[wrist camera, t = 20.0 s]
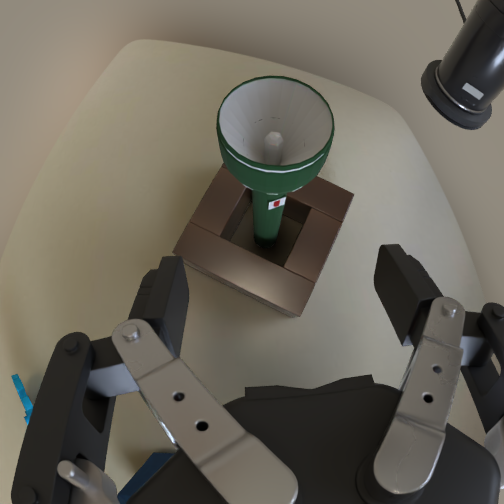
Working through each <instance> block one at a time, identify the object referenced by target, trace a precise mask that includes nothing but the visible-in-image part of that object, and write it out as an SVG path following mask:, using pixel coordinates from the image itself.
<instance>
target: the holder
mask: <svg viewBox="0 0 504 504" xmlns="http://www.w3.org/2000/svg"><path fill="white" fill-rule="evenodd" d="M353 197H354V194H353V193H351V192H349V191H347V190H345V189H343V188H341V187H339V186H337V185H335V184H332V183H330V182H328V181H326V180H324V179H322V178H320V177H318V176H316V177H315V178H313V179H312V180H311V181H310V182H309V183H308V184H306V185H304V186H303V187H301V188H299V189H297V190H295V191H293V192H287V196H286V200H285V204H284V209H283V213H282V214H284V215H286V216H288V217H290V218H292V219H294V220H296V221H299V222H301V223H303V224H304V225H303V227H302V229H301V231H300V233H299V235H298V237H297V239H296V241H295V243H294V245H293V248H292V250H291V252H290V254H289V256H288V258H287V260H286V262H285V264H284V266H283V267H281V266H279V265H277V264H275V263H273V262H271V261H269V260H266V259H264V258H262V257H260V256H258V255H256V254H254V253H252V252H250V251H248V250H246V249H244V248H242V247H240V246H238V245H236V244H234V243H232V242H230V239H231V238H232V236H233V234H234V232H235V230H236V228H237V226H238V224H239V223H240V221H241V219H242V217H243V215H244V213H245V211H246V210H247V208H248V206H249V204H250V202H251V200H253V198H252V190H251V189H250V188H248V187H246V186H244V185H243V184H242V183H241V182H239V181H238V180H237V179H236V178H235V177H234V176H233V175H232V174H231V173H230V172H229V170H228V168H227V167H226V165H225V163H223V164H222V167H221V168H220V169H219V171H218V173H217V174H216V176H215V178H214V179H213V181H212V183H211V185H210V186H209V188H208V190H207V191H206V193H205V195H204V197H203V198H202V200H201V202H200V203H199V205H198V207H197V209H196V210H195V212H194V214H193V216H192V217H191V219H190V221H189V222H188V224H187V226H186V228H185V230H184V231H183V233H182V235H181V237H180V239H179V240H178V242H177V244H176V246H175V248H174V250H173V252H172V253H173V254H174V255H176V256H182V258H183V262H184V263H185V264H187V265H189V266H191V267H193V268H195V269H197V270H199V271H201V272H202V273H204V274H206V275H208V276H210V277H212V278H214V279H216V280H218V281H220V282H222V283H224V284H226V285H228V286H230V287H232V288H234V289H236V290H238V291H240V292H242V293H244V294H246V295H248V296H250V297H252V298H254V299H256V300H258V301H260V302H262V303H264V304H266V305H268V306H270V307H272V308H274V309H276V310H278V311H280V312H282V313H284V314H286V315H288V316H291V317H293V318H294V317H300V316H301V314H302V312H303V310H304V308H305V305H306V303H307V301H308V299H309V297H310V295H311V293H312V291H313V289H314V286H315V283H316V282H317V280H318V278H319V275H320V273H321V271H322V269H323V267H324V264H325V262H326V260H327V258H328V255H329V253H330V251H331V249H332V246H333V244H334V242H335V240H336V237H337V235H338V233H339V230H340V228H341V226H342V223H343V221H344V219H345V216H346V214H347V211H348V209H349V207H350V204H351V202H352V199H353Z"/></svg>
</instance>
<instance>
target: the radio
mask: <svg viewBox="0 0 504 504" xmlns="http://www.w3.org/2000/svg"><path fill="white" fill-rule="evenodd" d="M174 454H175V453H153V454H152V455H151V456H150V457H149V459H148V460H147V461H146V462H145V463H144V464H143V466H142V467H141V468H140V469H139V470H138V471H137V473H136V474H135V475H134V476H133V477H132V478H131V480H130V481H129V482H128V483H127V484H126V485H125V486H124V488H123V489H122V490H121V491H120V492H119V493H118V495H117V498H118V501H119V503H120V504H126V502H127V501H128V499H129V498H130V497H131V496H132V495H133V494H134V493H135V492H136V491H137V490H138V489H139V488H140V487H141V486H142V485H143V484H144V483H145V482H147V481H148V480H149V479H150V478H151V477H152V476H153V475H154V474H155V473H156V472H157V471H158V470H159V469H160V468H161V467H162V466H163V465H164V464H165V463H166V462H167V461H168V460H169V459H170V458H171V457H172V456H173V455H174Z"/></svg>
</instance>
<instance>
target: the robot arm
mask: <svg viewBox="0 0 504 504" xmlns="http://www.w3.org/2000/svg"><path fill="white" fill-rule="evenodd" d="M455 1H456V3H457V6H458V8H459V11H460V14H461V16H462V19H463V23H464V25H463V27H462V28H461V30H460V32H459V33H458V35H457V37H456V38H455V40H454V42H453V44H452V45H451V47H450V48H449V50H448V52H447V53H446V55H445V56H444V58H443V60H442V61H441V63H440V64H439V65H438V66H437V68H436V70H435V72H434V78H435V81H436V84H437V86H438V88H439V89H440V91H441V92H442V93H443V95H444V96H445V97H446V98H447V99H448V100H449V101H450V102H451V103H452V104H453V105H455V106H456V107H458V108H459V109H461V110H462V111H464V112H466V113H469V114H473V115H479V114H482V113H483V112H484V111H485V110H486V109H487V107H488V106H489V104H490V103H491V102H492V101H493V100H494V99H495V98H496V97H497V96H498V95H499V94H500V92H501V91H502V90H503V89H504V0H478V1H477V2H476V4H475V6H474V8H473V10H472V11H471V13H470V15H469V16H468V18H467V20H466V18H465V15H464V12H463V9H462V7H461V4H460V2H459V0H455ZM374 286H375V290H376V292H377V294H378V296H379V298H380V300H381V302H382V304H383V306H384V308H385V310H386V312H387V314H388V317H389V319H390V321H391V323H392V325H393V327H394V329H395V331H396V334H397V336H398V338H399V340H400V342H401V345H402V346H407V345H413V346H414V350H413V352H412V355H411V357H410V360H409V363H408V365H407V368H406V371H405V373H404V376H403V378H402V381H401V383H400V386H399V388H398V389H396V388H394V387H391V386H388V385H384V384H378V383H374V381H373V377H372V374H371V375H364V376H358V377H351V378H344V379H340V380H337V381H335V382H332V383H329V384H326V385H324V386H321V387H318V388H315V389H302V388H294V387H286V386H278V385H276V386H260V387H245V396H244V397H241V398H238V399H235V400H233V401H231V402H229V403H227V404H225V405H223V406H222V405H221V404H220V403H219V402H218V401H217V399H216V398H215V397H214V396H213V395H212V394H211V393H210V392H209V390H208V389H207V388H206V387H205V386H204V385H203V384H202V382H201V381H200V380H199V379H198V378H197V377H196V375H195V374H194V373H193V372H192V371H191V369H190V368H189V367H188V366H187V365H186V364H185V362H184V361H183V360H182V359H181V358H180V350H181V344H182V338H183V332H184V326H185V320H186V315H187V309H188V303H189V288H188V283H187V278H186V273H185V268H184V263H183V258H182V256H166V257H162V260H161V262H160V265H159V268H158V269H154V270H150V271H149V272H148V273H147V274H146V275H145V276H144V277H143V279H142V282H141V285H140V288H139V290H138V292H137V296H136V298H135V301H134V303H133V306H132V309H131V312H130V314H129V317H128V320H126V321H124V322H122V323H120V324H119V325H118V326H117V327H116V328H115V329H114V331H113V333H112V336H110V337H107V338H103V339H99V340H95V341H90V339H89V337H88V336H87V335H86V334H84V333H81V332H74V333H70V334H67V335H66V336H64V337H63V338H61V339H60V340H59V342H58V343H57V345H56V347H55V349H54V352H53V354H52V357H51V359H50V362H49V364H48V367H47V370H46V372H45V375H44V378H43V381H42V383H41V386H40V389H39V392H38V395H37V398H36V401H35V404H34V407H33V410H32V413H31V416H30V419H29V423H28V426H27V429H26V433H25V436H24V440H23V444H22V447H21V451H20V455H19V459H18V463H17V467H16V472H15V476H14V481H13V486H12V491H11V500H12V504H120V503H119V501H118V498H117V489H116V485H115V483H114V481H113V480H112V479H111V478H110V477H109V476H108V475H107V474H105V473H104V469H105V462H106V455H107V448H108V441H109V435H110V429H111V423H112V417H113V412H114V406H115V401H116V396H117V395H121V394H125V393H130V392H134V391H138V392H139V394H140V395H141V397H142V398H143V400H144V401H145V403H146V405H147V406H148V408H149V409H150V411H151V412H152V414H153V415H154V417H155V418H156V420H157V421H158V423H159V424H160V426H161V427H162V429H163V430H164V432H165V433H166V435H167V436H168V438H169V439H170V441H171V442H172V443H173V445H174V446H175V448H176V449H177V450H178V451H177V452H176V453H175V454H174V455H173V456H172V457H171V458H170V459H169V460H168V461H167V462H166V463H165V464H164V465H163V466H162V467H161V468H160V469H159V470H158V471H157V472H156V473H155V474H154V475H153V476H152V477H151V478H150V479H149V480H148V481H147V482H145V483H144V484H143V485H142V486H141V487H140V488H139V489H138V490H137V491H136V492H135V493H134V494H133V495H132V496H131V497H130V498H129V499H128V501H127V502H126V504H498V499H499V492H500V489H502V488H504V307H503V306H501V305H500V304H497V303H487V304H485V305H484V306H483V308H482V311H481V313H477V312H468V311H465V310H464V307H463V306H462V305H461V304H460V303H459V302H458V301H456V300H455V299H452V298H449V297H444V296H443V295H442V293H441V292H440V290H439V289H438V287H437V286H436V284H435V283H434V282H433V280H432V279H431V277H429V275H428V273H427V272H426V271H425V269H424V268H423V266H422V265H421V263H420V262H419V261H418V260H416V259H415V258H413V257H412V256H411V255H407V254H406V253H405V252H404V250H403V249H402V247H401V246H400V245H399V244H388V245H381V246H380V248H379V253H378V258H377V263H376V269H375V274H374ZM493 353H494V354H495V355H496V357H497V359H498V361H499V363H500V366H501V374H500V376H499V374H498V372H497V370H496V368H495V366H494V364H493V362H492V360H491V357H492V355H493ZM460 370H461V372H462V374H463V376H464V379H465V381H466V383H467V386H468V388H469V391H470V393H471V396H472V398H473V400H474V403H475V406H476V408H477V411H478V413H479V416H480V419H481V421H482V424H483V427H484V430H485V432H486V437H485V441H484V447H485V448H484V447H483V446H481V445H480V444H478V443H477V442H475V441H474V440H472V439H471V438H469V437H468V436H466V435H465V434H463V433H462V432H461V431H459V430H458V429H456V428H455V427H453V426H452V425H450V424H449V423H447V420H448V417H449V413H450V410H451V406H452V402H453V398H454V394H455V390H456V386H457V382H458V377H459V373H460Z"/></svg>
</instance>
